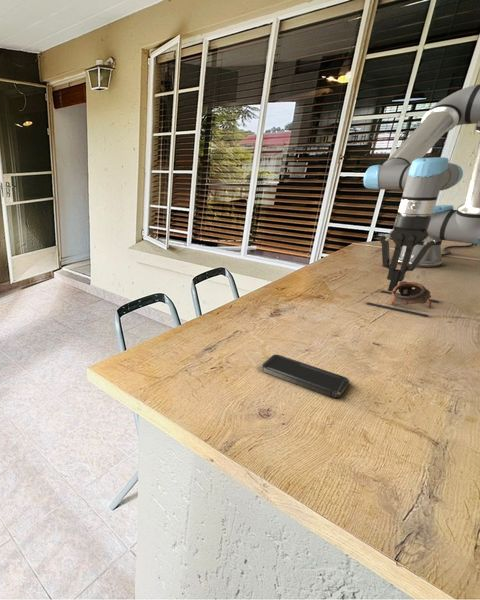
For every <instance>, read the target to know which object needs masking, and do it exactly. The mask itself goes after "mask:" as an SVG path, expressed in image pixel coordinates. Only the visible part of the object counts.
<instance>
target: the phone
mask: <svg viewBox="0 0 480 600" xmlns="http://www.w3.org/2000/svg"><path fill="white" fill-rule="evenodd" d="M261 371H262V372H264V373H266V374H269V375H271V376H274V377H277V378H279V379H282V380H284V381H288V382H290V383H292V384H295V385H297V386H299V387H303V388H306V389H309V390H310V391H313V392H316V393H319V394H321V395H324V396H326V397H329V398H332V399H340V398H341V397H342V395H343V394H344V392H345V391H346V390H347V388H348V387H349V384H350V379H349V378H348V377H346V376H344V375H340V374H337V373H335V372H332V371H328V370H326V369H322V368H319V367H316V366H313V365H310V364H308V363H304V362H302V361H299V360H296V359H292V358H290V357H287V356H283V355H281V354H273V355H272V356H271V357H269V358H268V359H267V360H266V361H264V362H263V364H262V365H261Z"/></svg>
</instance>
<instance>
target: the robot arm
mask: <svg viewBox="0 0 480 600" xmlns="http://www.w3.org/2000/svg"><path fill="white" fill-rule="evenodd" d="M473 124H474V125H475V124H476V126H475V132H476V133H478V134H479V135H480V83H479V84H474V85H470V86H467V87H464V88H461V89H459V90H457V91H455V92H453V93H451V94H449V95H448V96H446V97H444V98H443V99H440V100H439V101H438V102H437V103H435V104H434V105H433V106H431V108H429V109H428V110H427V112H426V113H425V114H424V115H423V116H422V118H421V121H420V124H419V125H418V126H417V127H416V128H414V130H413V131H412V133H410V134H409V136H408V137H406V139H405V140H403V142H402V143H401V144H400V146H399V147H397V149H396V150H395V151H394V152H393V153H392V154H391V155H390V156H389V157H388V158H387V159H386V161H384V162H383V163H382V164H375V165H370V166H369V167H368V168H367V169H366V171H365V172H364V174H363V186H364V188H366V189H369V190H370V189H371V190H378V191H379V190H392V191H393V190H396V191H397V190H398V191H403V192H402V196H401V199H400V203H399V206H398V209H397V212H398V214H397V215H396V217H395V220H394V223H393V224H394V225H393V228H392V229H391V230H390V232H389V233H387V234H382V235H381V236H378V237H379V238H378V240H379V242H380V244H381V259H382V260H381V261H382V267H383V268H386V269H388V273H387V276H386V279H387V280H388V281H389V284H388V288H387V291H388V292H393V289H394V287H396V286H397V285H399V283H400V282H403V281H405V276H406V274H407V272H413V271H414V270H415V269H416V268H436V267H437V268H438V267H440V266H441V265H442V263H443V257H444V256H446V257H447V256H449V255H451V253H452V252H451V251H450V250H448V249H452V248H453V249H456V248H457V249H458V248H472V247H473V246H477V245H480V139H479V141H478V145H477V149H476V154H475V158H474V162H473V166H472V170H471V174H470V179H469V183H468V187H467V191H466V196H465V199H464V203H462V204H460V205H459V206H458V207H457V208H456V209H454V206H453V205H452V204H450V205H449V204H440V205H439V204H438V205H436V204H437V200H438V197H439V194H440V191H441V192H442V191H445V190H448V189H450V188H453V187H455V186H456V185H458V184H459V183H460V182H461V180H462V179H463V176H464V171H463V168H462V167H461V166H460V165H459V164H457V163H452V162H449V161H450V160H449V158H448V157H446V156H445V157H443V156H442V157H441V156H439V157H425V156H426V155H427V153H428V152H429V151H430V150H431V149H432V148H433V146H435V145H436V143H437V142H438V141H439V140H440V139H441V138H442V137H443V135H445V134H446V133H447V132H450V131H452V130H453V129H454V128H455V127H457V126H462V125H473ZM391 240H392V241H393V243H394V244H395V245H394V251H393V254H392V256H391V259H390V242H389V241H391ZM443 241H449V242H457V243H463V244H464V243H465V244H466V245H449V246H445V247H443V252H446V253H442V247H441V246H442V242H443ZM467 244H468V245H467ZM398 264H399V265H400V269H397V268H398Z"/></svg>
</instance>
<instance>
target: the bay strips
mask: <svg viewBox="0 0 480 600" xmlns="http://www.w3.org/2000/svg"><path fill="white" fill-rule="evenodd" d="M380 293H384V294H390V295H392V291H388V290H383V289H382V290H381V291H380ZM396 293H397V294H398V295H400V292H399V293H398V292H396ZM396 293H395V294H396ZM430 300H431V302H432V303H439V302H440V301H439V300H437V299H431V298H430ZM366 305H368V306H373V307H378V308H382V309H387V310H391V311H396V312H402V313H406V314H411V315H415V316H420V317H424V318H425V317H427V318H428V316H429V314H427V313H426V314H425V313H421V312H416V311H411V310H407V309H403V308H397V307H393V306H388V305H383V304H378V303H373V302H367V303H366Z"/></svg>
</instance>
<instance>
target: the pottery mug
mask: <svg viewBox="0 0 480 600" xmlns="http://www.w3.org/2000/svg"><path fill="white" fill-rule="evenodd" d="M397 291H398V292H399V294H400V295H398V294H397V293H398V292H397ZM391 292H392V291H391ZM395 293H396V294H395ZM431 298H432V295H431V291H430V290H429V289H428V288H426V287H425V286H424V285H423V284H422V283H418V282H415V281H405V280H403V281H401V282H398V284H397V286H396V287H394V289H393V292H392V294H391V296H390V298H389V303H390V305H391V306H393V305H394V304H395V305H406V306H407V305H408V306H409V305H414V304H421V305H424V304H425V305H426V306H427V307H428V308H429V309H430V308H431V307H432V303H433V302H431V300H432V299H431ZM430 299H431V300H430Z"/></svg>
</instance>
